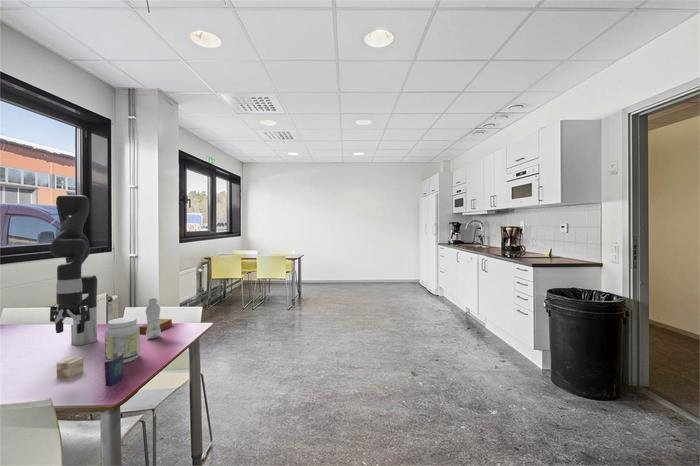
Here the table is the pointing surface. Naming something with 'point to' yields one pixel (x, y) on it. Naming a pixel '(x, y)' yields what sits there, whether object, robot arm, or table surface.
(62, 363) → the beech cube
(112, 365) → the flask
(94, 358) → the table surface
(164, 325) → the carton
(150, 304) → the plastic bottle
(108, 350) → the supplement tub
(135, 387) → the table surface
